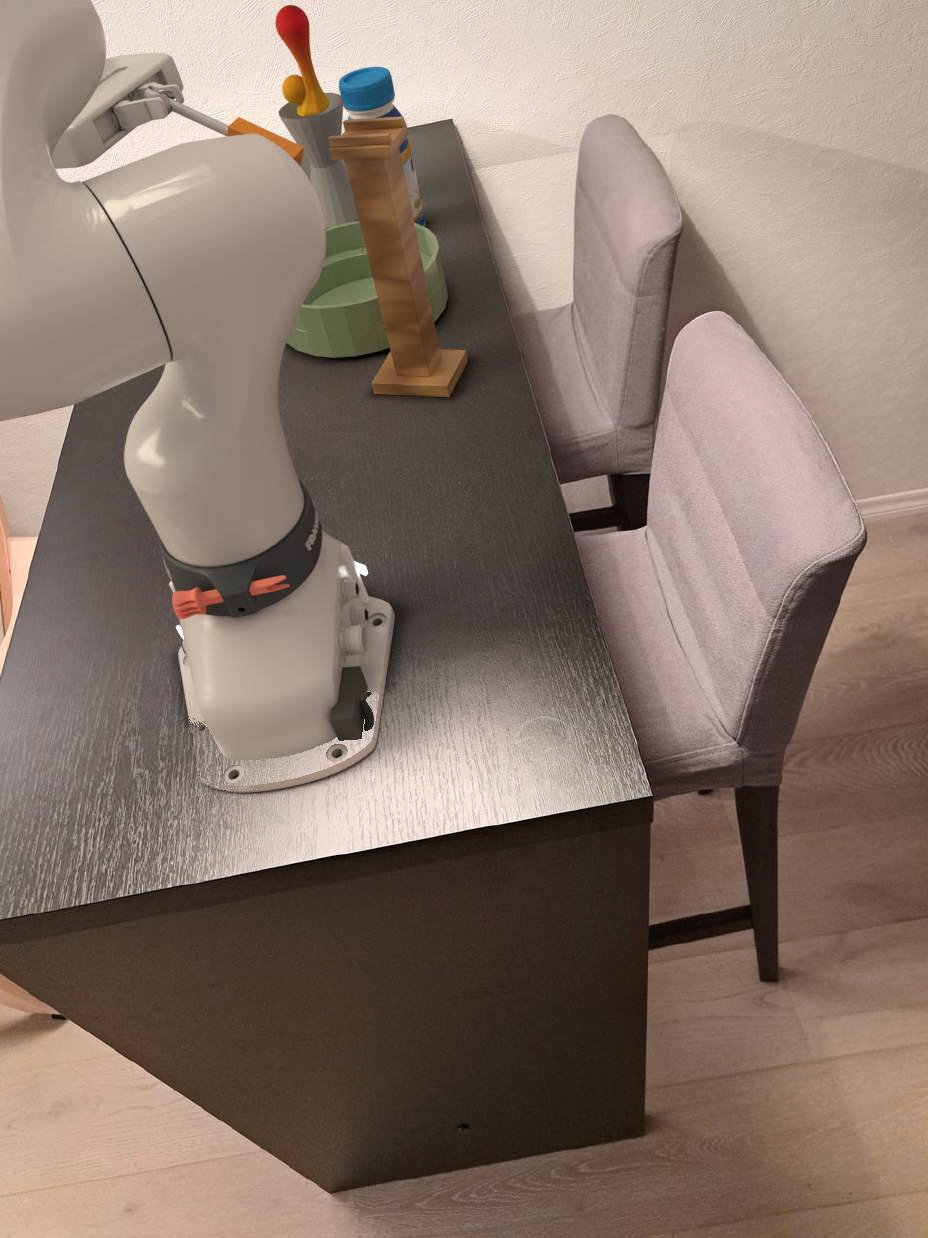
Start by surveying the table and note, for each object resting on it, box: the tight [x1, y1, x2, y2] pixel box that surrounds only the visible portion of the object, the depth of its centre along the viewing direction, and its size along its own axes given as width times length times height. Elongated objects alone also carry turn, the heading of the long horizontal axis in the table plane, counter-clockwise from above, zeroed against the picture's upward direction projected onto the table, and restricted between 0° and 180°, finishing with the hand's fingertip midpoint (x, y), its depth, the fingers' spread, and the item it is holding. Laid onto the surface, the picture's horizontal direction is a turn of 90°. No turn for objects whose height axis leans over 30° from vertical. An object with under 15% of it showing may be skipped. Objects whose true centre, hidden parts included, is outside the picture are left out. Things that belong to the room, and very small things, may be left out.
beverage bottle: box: [338, 66, 426, 227], centre depth 125 cm, size 8×8×20 cm
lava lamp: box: [274, 4, 359, 229], centre depth 126 cm, size 9×9×35 cm
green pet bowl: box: [286, 220, 449, 359], centre depth 115 cm, size 21×21×7 cm
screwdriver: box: [145, 88, 304, 168], centre depth 93 cm, size 16×2×2 cm, turn 73°
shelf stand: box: [328, 116, 469, 398], centre depth 96 cm, size 9×7×27 cm
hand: (173, 100), depth 92 cm, fingers closed on screwdriver, 1 cm apart
